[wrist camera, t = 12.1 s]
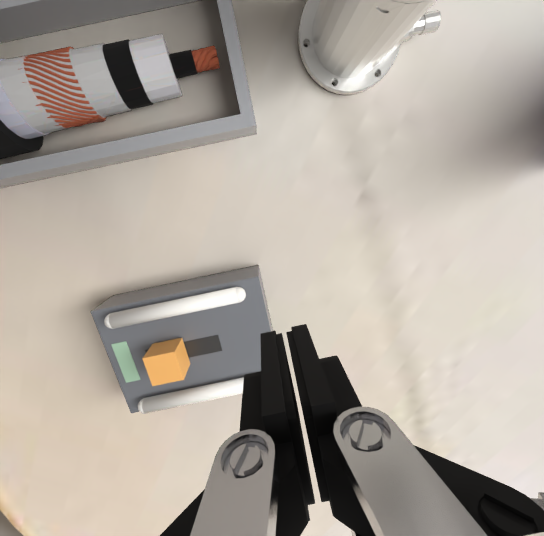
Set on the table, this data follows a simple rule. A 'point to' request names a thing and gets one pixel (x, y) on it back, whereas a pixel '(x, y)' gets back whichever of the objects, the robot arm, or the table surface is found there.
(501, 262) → the table surface
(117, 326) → the cord
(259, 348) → the grey slider switch panel
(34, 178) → the grey tray
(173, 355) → the block
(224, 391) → the cord
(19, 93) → the cable
